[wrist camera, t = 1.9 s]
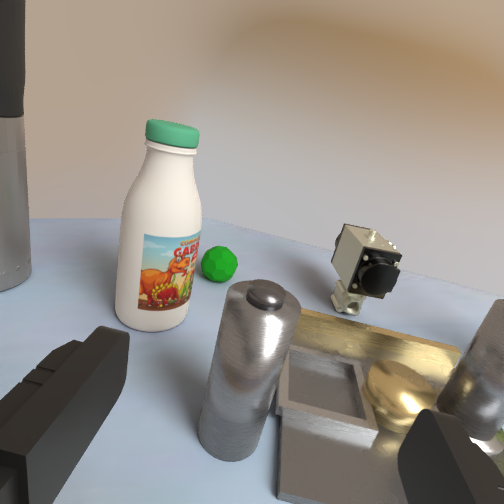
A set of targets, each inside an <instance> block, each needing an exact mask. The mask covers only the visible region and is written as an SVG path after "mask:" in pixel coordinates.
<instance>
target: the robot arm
mask: <svg viewBox="0 0 504 504" xmlns="http://www.w3.org/2000/svg"><path fill="white" fill-rule="evenodd" d="M24 85H25V0H0V291H4V290H7V289H9V288H12V287H15V286H17V285H19V284H21V283H22V282H23V281H25V280H26V279H27V278H28V277H29V276H30V274H31V271H32V268H31V248H30V226H29V207H28V186H27V167H26V148H25V129H24V116H23V115H24V111H23V110H24V109H23V95H24ZM129 340H130V336H129V333H128V332H124V331H120V330H116V329H112V328H108V327H104V326H99V327H98V328H96V329H95V330H94V331H93V333H92V334H91V335H90V336H89V337H88V338H87V339H86V340H85V341H84V342H80V341H76V340H72V341H70V342H68V343H66V344H65V345H63V346H61V347H59V348H57V349H55V350H53V351H52V352H51V353H50V354H49V355H47V356H46V357H45V358H44V359H43V360H42V361H41V362H40V363H39V364H38V365H37V367H36V369H33V370H32V371H31V372H30V373H29V374H28V375H26V376H25V377H24V378H23V381H22V382H21V383H20V382H19V383H18V384H17V385H16V386H15V387H14V388H13V389H12V390H11V391H10V392H9V393H8V394H6V395H5V396H4V397H3V398H2V399H1V400H0V504H52V503H53V502H54V500H55V498H56V497H57V495H58V494H59V492H60V490H61V489H62V487H63V486H64V484H65V482H66V481H67V479H68V478H69V476H70V475H71V473H72V471H73V470H74V468H75V467H76V465H77V463H78V462H79V460H80V459H81V457H82V455H83V454H84V452H85V451H86V449H87V447H88V446H89V444H90V443H91V441H92V440H93V438H94V436H95V435H96V433H97V432H98V430H99V428H100V427H101V425H102V424H103V422H104V420H105V419H106V417H107V416H108V414H109V413H110V411H111V409H112V408H113V406H114V405H115V403H116V401H117V400H118V398H119V396H120V394H121V392H122V389H123V386H124V383H125V380H126V373H127V362H128V351H129ZM398 471H399V475H400V479H401V482H402V485H403V488H404V492H405V495H406V498H407V501H408V504H504V477H503V475H502V473H501V472H500V470H499V468H498V467H497V465H496V464H495V463H494V462H493V461H492V459H491V458H490V457H489V456H488V455H487V454H486V453H485V452H484V451H483V450H482V449H481V447H480V446H479V445H478V444H477V443H474V442H472V440H471V438H470V437H469V435H468V433H467V431H466V430H465V428H464V426H463V424H462V423H461V421H460V420H459V419H458V418H457V417H456V416H454V415H450V414H446V413H442V412H438V411H434V410H430V409H422V410H421V411H420V412H419V414H418V415H417V417H416V419H415V421H414V422H413V424H412V426H411V428H410V430H409V431H408V433H407V435H406V437H405V439H404V440H403V442H402V444H401V446H400V448H399V452H398Z"/></svg>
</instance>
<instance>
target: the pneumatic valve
mask: <svg viewBox="0 0 504 504" xmlns="http://www.w3.org/2000/svg"><path fill="white" fill-rule="evenodd" d="M335 247H336V249H335V251H334V254H333V257H332V260H331V263H332V265H333V266H334V268H335V270H336V272H337V273H338V275H339V277H340V279H341V280H337V281H336V286H335V289H334V294H332V295H331V300H332V302H333V305H334V307H335V309H336V311H337V312H342V311H343V312H346V313H348V314H354V315H359V314H360V310H361V309H362V307H361V306H362V303H363V300H365V299H366V296H369V297H375V298H380V299H383V298H384V296H385V294H386V293H387V292H391V291H392V289H393V287H394V286H395V284H396V282H397V278H398V275H399V273H400V270H399V269H398V268H397V266H398V265H399V262H400V259H401V257H402V255H401V254H400V253H399V252H398V251H397V250H396V249H395V248H396V246H395V245H391V242H390V241H386V240H385V239H384V238H383V237H382V236H381V235H380V234H378V233H377V231H376V230H375V229H368V228H364V227H358V226H354V225H349V224H344V225H343V228H342V231H341V233H340V234H339V235H338V237H337V239H336V242H335Z"/></svg>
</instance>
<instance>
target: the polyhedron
mask: <svg viewBox="0 0 504 504" xmlns="http://www.w3.org/2000/svg"><path fill="white" fill-rule="evenodd" d="M237 266H238V263H237V257H236V256H235V255H234V254H233V253H232V252H231V251H230V250H229V249H228V248H227V247H222V246H216V247H213V248H211V249H209V250H207V251H206V253H205V254H204V256H203V258H202V261H201V267H202V271H203V273H204V275H205V276H206V277H207V278H208V279H209V280H211V281H216V282H225V281H227V280H229V279H231V278H232V276H233V274H234V272H235V270H236V268H237Z"/></svg>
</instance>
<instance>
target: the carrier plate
mask: <svg viewBox="0 0 504 504" xmlns="http://www.w3.org/2000/svg"><path fill="white" fill-rule="evenodd" d="M460 356H461V352H460V351H459V349H458V348H457V347H455V346H451V345H447V344H443V343H439V342H435V341H431V340H427V339H423V338H419V337H415V336H411V335H407V334H403V333H399V332H395V331H391V330H387V329H383V328H379V327H375V326H371V325H367V324H363V323H359V322H355V321H351V320H347V319H343V318H339V317H335V316H331V315H327V314H323V313H319V312H315V311H311V310H307V309H303V308H301V314H300V317H299V320H298V323H297V326H296V329H295V332H294V336H293V339H292V342H291V345H290V348H289V351H288V354H287V357H286V360H285V363H284V366H283V369H282V372H281V375H280V378H279V381H278V384H277V395H276V413H275V414H276V415H280V440H279V465H278V489H277V499H279V500H282V501H286V502H290V503H294V504H408V501H407V498H406V495H405V492H404V488H403V485H402V482H401V479H400V475H399V471H398V452H399V448H400V446H401V444H402V442H403V440H404V439H405V437H406V435H407V433H408V431H409V430H410V428H411V426H412V424H413V422H414V421H415V419H416V417H417V415H418V414H419V412H420V411H421V410H422V409H430V410H434V411H438V412H442V413H446V414H450V415H454V416H456V417H457V418H458V419H459V420H460V421H461V423H462V424H463V426H464V428H465V430H466V431H467V433H468V435H469V437H470V438H471V440H472V442H474V443H477V444H478V445H479V446H480V447H481V449H482V450H483V451H484V452H485V453H486V454H487V455H488V456H489V457H490V458H491V459H492V461H493V462H494V463H495V464H496V465H497V467H498V468H499V470H500V472H501V473H502V475H503V477H504V431H503V429H502V428H501V427H502V425H503V424H504V299H498V300H496V301H495V302H494V304H493V305H492V307H491V309H490V310H489V312H488V314H487V315H486V317H485V319H484V320H483V322H482V324H481V326H480V327H479V329H478V331H477V332H476V334H475V336H474V337H473V339H472V341H471V342H470V344H469V346H468V347H467V349H466V351H465V352H464V354H463V356H462V358H461V359H460V361H459V363H458V364H457V366H456V368H454V366H455V364H456V362H457V361H458V359H459V357H460Z"/></svg>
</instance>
